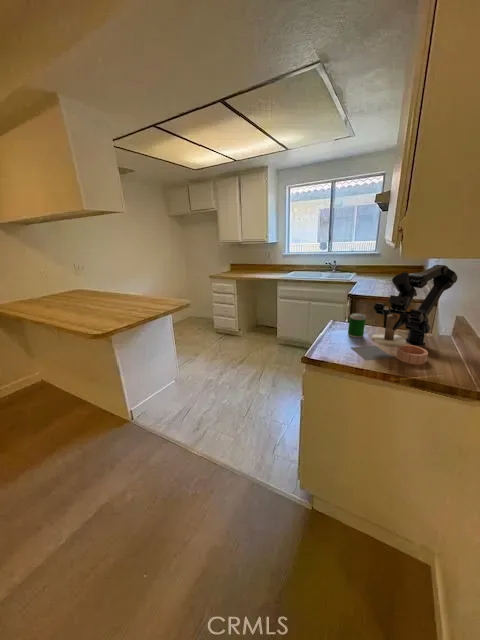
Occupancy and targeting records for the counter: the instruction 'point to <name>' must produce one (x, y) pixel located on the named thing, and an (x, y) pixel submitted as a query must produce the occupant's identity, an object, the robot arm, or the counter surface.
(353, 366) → the counter surface
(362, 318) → the soda can
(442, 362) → the counter surface
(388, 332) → the lid
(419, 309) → the robot arm
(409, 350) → the bowl
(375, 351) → the mat
